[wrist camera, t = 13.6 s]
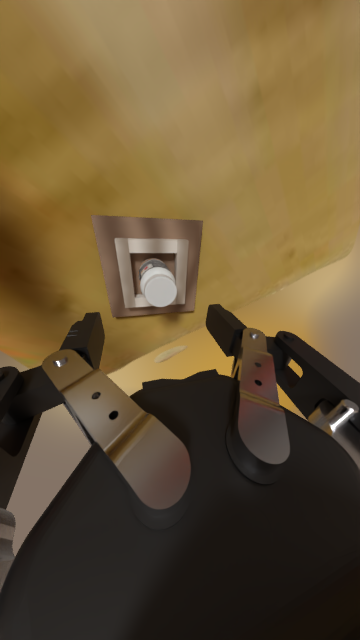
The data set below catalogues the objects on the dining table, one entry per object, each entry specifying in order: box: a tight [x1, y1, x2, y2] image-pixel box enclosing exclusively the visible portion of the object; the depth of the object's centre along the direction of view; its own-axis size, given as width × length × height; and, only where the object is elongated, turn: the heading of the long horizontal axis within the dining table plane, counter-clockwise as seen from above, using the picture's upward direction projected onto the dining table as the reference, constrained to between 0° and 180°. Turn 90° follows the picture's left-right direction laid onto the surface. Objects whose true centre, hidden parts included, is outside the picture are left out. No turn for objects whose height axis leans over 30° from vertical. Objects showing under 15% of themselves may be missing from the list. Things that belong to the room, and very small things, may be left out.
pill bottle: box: [138, 258, 177, 307], centre depth 27 cm, size 6×6×10 cm
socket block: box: [91, 215, 203, 317], centre depth 31 cm, size 18×18×4 cm
